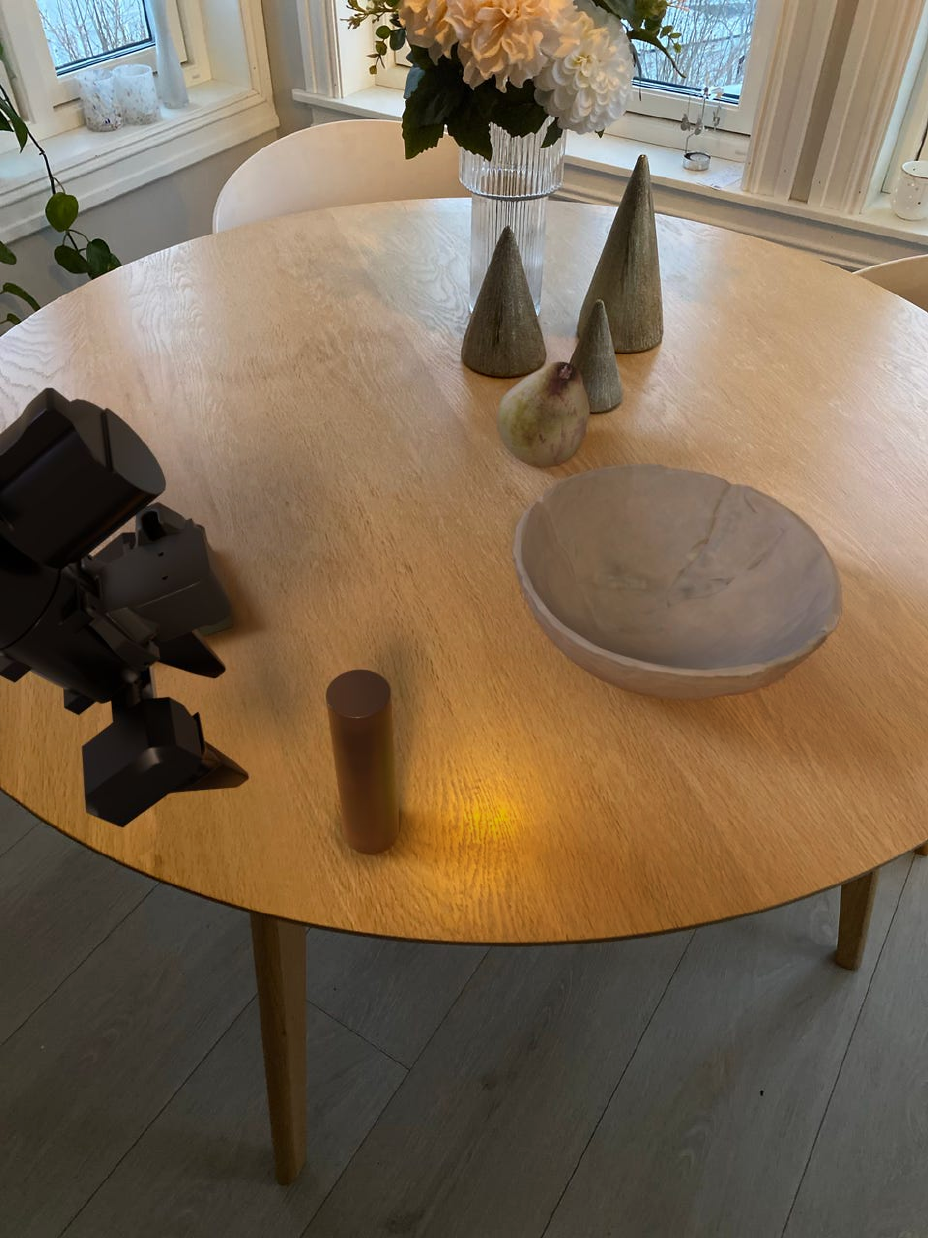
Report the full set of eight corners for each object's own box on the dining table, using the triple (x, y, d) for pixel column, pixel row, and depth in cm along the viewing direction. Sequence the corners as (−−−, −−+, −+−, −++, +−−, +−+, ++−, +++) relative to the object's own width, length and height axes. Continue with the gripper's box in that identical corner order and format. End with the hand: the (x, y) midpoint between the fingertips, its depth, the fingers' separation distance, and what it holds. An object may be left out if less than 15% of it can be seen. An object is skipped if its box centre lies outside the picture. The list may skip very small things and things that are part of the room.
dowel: (358, 863, 67) (341, 726, 57) (335, 821, 70) (315, 682, 60) (409, 840, 69) (401, 702, 58) (385, 799, 71) (374, 660, 61)
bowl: (631, 510, 97) (644, 425, 90) (870, 644, 84) (908, 557, 77) (443, 636, 84) (442, 548, 77) (691, 821, 70) (717, 734, 63)
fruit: (561, 492, 99) (571, 389, 91) (479, 467, 102) (482, 365, 94) (597, 443, 106) (610, 343, 97) (520, 421, 109) (525, 322, 101)
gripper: (153, 632, 41) (368, 767, 52) (121, 410, 54) (299, 556, 65) (-27, 774, 43) (216, 875, 54) (-17, 528, 56) (178, 650, 67)
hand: (231, 724), depth 60 cm, fingers open, 9 cm apart
